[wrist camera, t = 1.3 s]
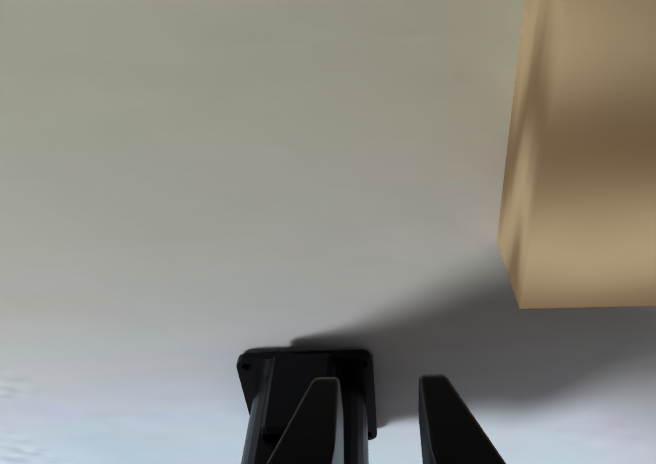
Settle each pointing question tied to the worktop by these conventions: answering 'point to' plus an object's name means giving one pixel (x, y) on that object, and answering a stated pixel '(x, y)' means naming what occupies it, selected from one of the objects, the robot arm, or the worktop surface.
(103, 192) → the worktop surface
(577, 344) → the worktop surface
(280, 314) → the worktop surface
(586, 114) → the tan block
